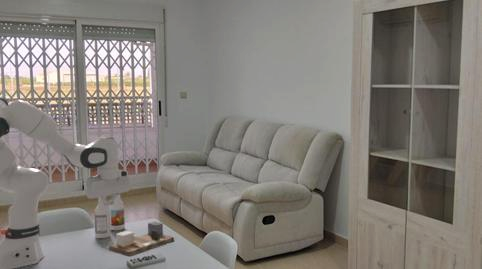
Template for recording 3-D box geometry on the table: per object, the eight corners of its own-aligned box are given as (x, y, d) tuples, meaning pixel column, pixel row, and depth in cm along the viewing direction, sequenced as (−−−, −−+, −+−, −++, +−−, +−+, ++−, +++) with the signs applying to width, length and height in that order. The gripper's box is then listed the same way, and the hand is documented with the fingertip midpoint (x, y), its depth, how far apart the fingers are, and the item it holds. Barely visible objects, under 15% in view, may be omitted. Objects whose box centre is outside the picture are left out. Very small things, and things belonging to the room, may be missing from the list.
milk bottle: (106, 230, 234) (104, 192, 233) (114, 226, 242) (113, 188, 240) (119, 231, 232) (118, 192, 230) (127, 227, 240) (126, 189, 238)
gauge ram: (126, 247, 203) (126, 236, 202) (116, 244, 207) (116, 233, 207) (141, 243, 209) (140, 232, 208) (130, 240, 214) (130, 229, 213)
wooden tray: (128, 255, 198) (128, 251, 197) (109, 249, 206) (109, 245, 206) (173, 240, 218) (173, 236, 218) (154, 234, 226) (154, 231, 226)
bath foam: (101, 234, 229) (99, 194, 227) (113, 235, 227) (111, 195, 225) (92, 238, 222) (90, 197, 221) (104, 239, 220) (102, 198, 218)
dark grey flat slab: (158, 240, 212) (158, 232, 212) (151, 238, 215) (151, 230, 215) (160, 240, 213) (160, 231, 213) (153, 238, 216) (153, 229, 216)
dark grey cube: (156, 236, 218) (156, 225, 218) (148, 234, 222) (147, 223, 222) (162, 234, 222) (162, 223, 221) (154, 232, 225) (154, 221, 225)
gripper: (91, 177, 189) (92, 211, 190) (131, 171, 205) (132, 202, 206) (82, 176, 193) (83, 208, 194) (122, 170, 209) (123, 200, 210)
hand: (109, 205), depth 201 cm, fingers closed
